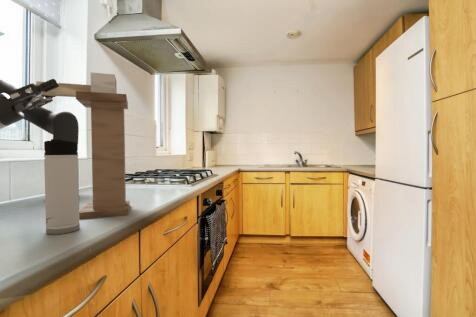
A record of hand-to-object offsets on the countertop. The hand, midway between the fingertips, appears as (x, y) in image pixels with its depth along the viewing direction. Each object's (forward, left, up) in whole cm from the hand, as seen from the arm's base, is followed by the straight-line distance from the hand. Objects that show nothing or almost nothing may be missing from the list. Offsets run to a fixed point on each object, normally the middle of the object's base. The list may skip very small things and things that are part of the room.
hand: (60, 85), depth 75 cm
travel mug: (+18, +4, -36) cm, 40 cm away
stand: (0, +11, -36) cm, 37 cm away
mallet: (0, +4, -3) cm, 5 cm away
